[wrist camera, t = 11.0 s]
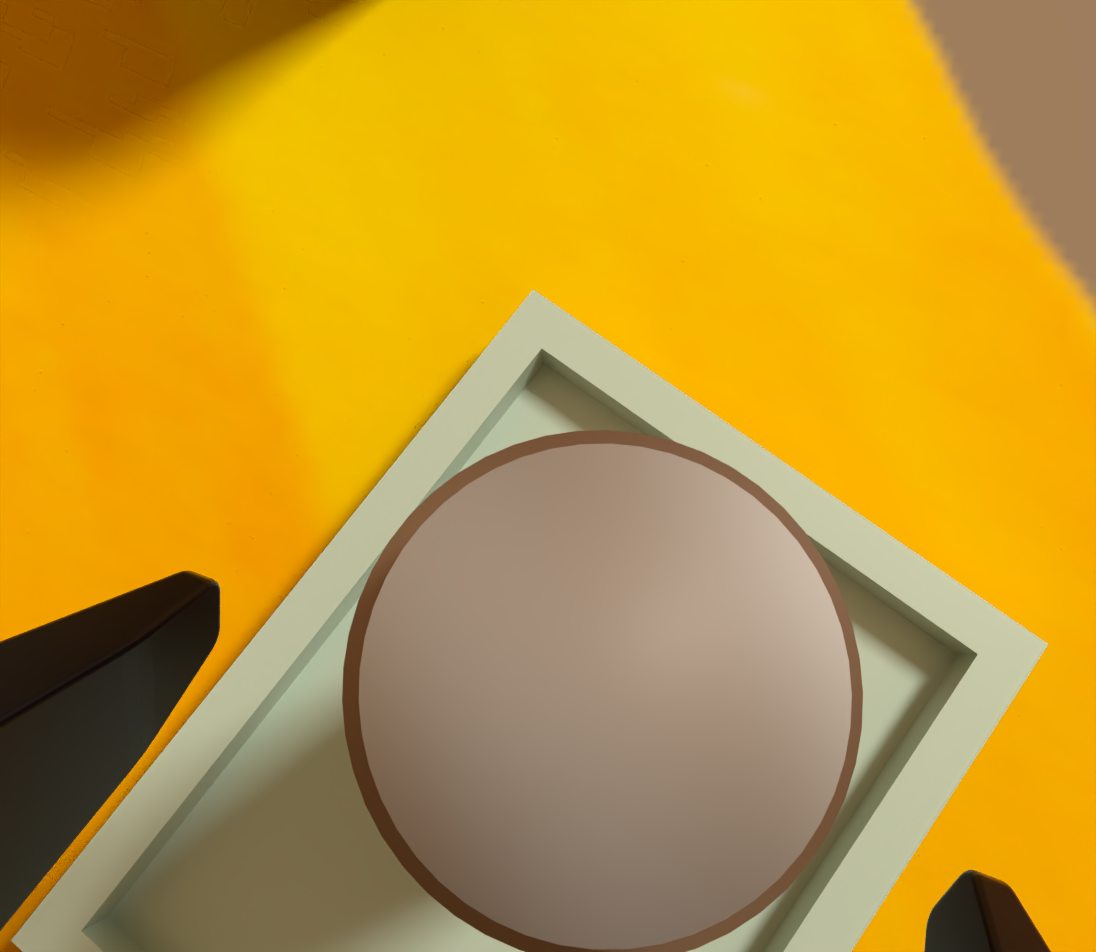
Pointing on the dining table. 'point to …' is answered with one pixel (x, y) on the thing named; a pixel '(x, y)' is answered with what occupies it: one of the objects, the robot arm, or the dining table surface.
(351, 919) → the tray
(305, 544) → the dining table surface
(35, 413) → the dining table surface
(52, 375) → the dining table surface
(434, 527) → the pepper mill
